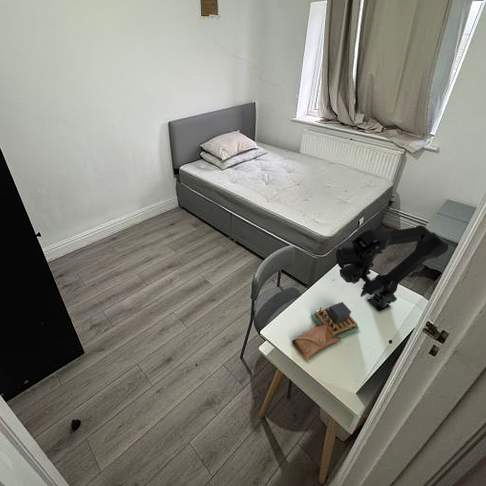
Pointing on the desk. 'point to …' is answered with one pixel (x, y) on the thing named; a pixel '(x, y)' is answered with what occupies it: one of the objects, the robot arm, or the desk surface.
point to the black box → (339, 313)
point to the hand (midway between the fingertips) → (353, 287)
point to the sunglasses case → (314, 341)
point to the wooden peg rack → (339, 329)
